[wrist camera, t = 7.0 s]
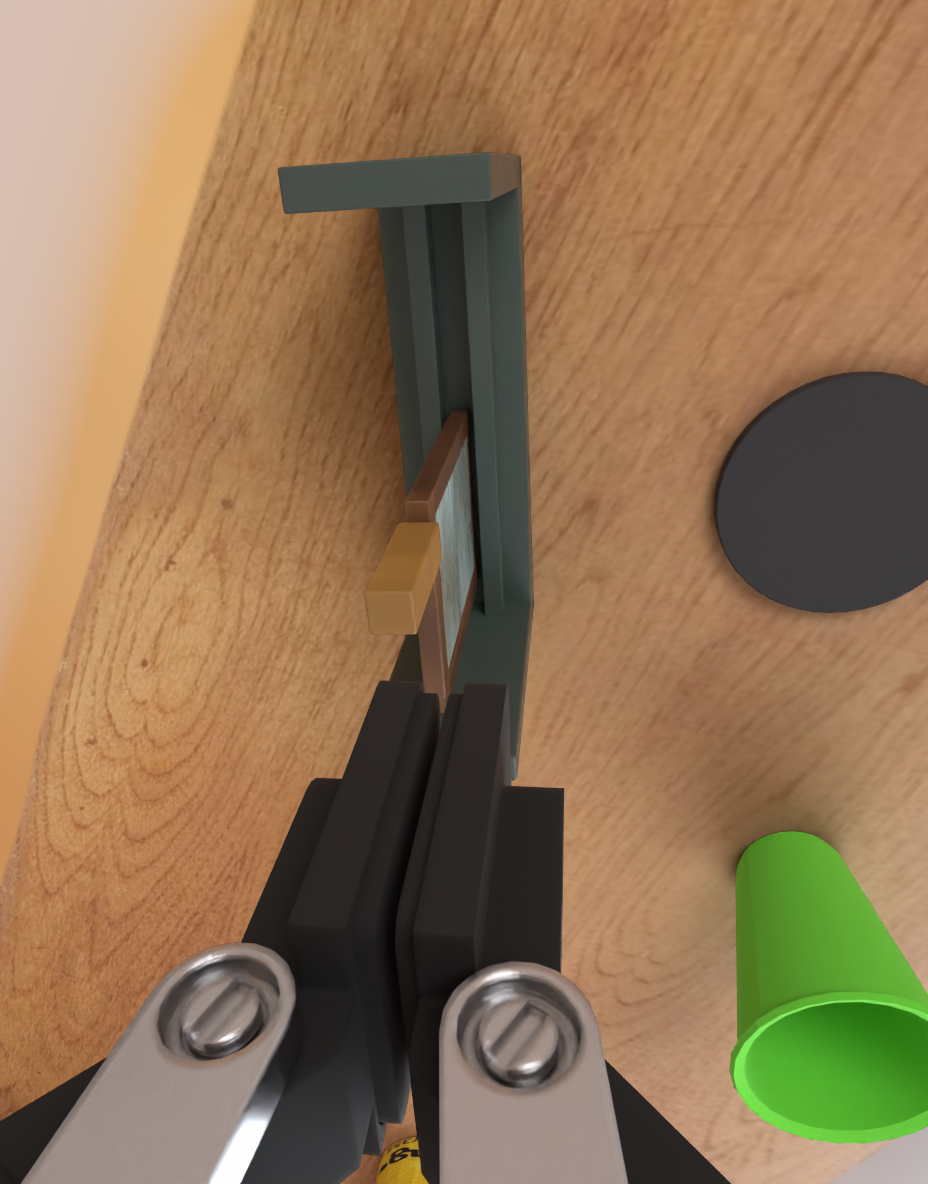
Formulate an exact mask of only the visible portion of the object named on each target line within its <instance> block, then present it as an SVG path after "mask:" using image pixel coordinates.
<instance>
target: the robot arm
mask: <svg viewBox="0 0 928 1184" xmlns="http://www.w3.org/2000/svg"><path fill="white" fill-rule="evenodd" d="M563 841H564V788H543V787H519V786H511V753H510V713H509V688H508V684H487V683H466V684H465V688H464V692H463V694H449V696H448V700H447V704H446V708H445V713H444V717H443V721H442V725H441V716H440V703H439V696H438V694H437V693H425V689H424V685H423V683H422V682H413V681H380V682H379V684H378V686H377V688H376V691H375V693H374V696H373V699H372V701H371V704H370V706H369V709H368V712H367V714H366V717H365V720H364V722H363V725H362V728H361V730H360V733H359V735H358V738H357V741H356V743H355V746H354V749H353V751H352V754H351V757H350V759H349V762H348V764H347V767H346V770H345V772H344V775H343V778H342V779H331V778H315V779H314V780H313V781H311V783H310V785H309V786H308V788H307V790H306V792H305V795H304V797H303V799H302V802H301V804H300V806H299V809H298V811H297V813H296V816H295V818H294V820H293V823H292V825H291V827H290V830H289V832H288V834H287V837H286V839H285V841H284V844H283V846H282V848H281V851H280V853H279V855H278V858H277V860H276V862H275V865H274V867H273V869H272V872H271V874H270V876H269V879H268V881H267V883H266V886H265V888H264V890H263V893H262V895H261V897H260V900H259V902H258V904H257V907H256V909H255V911H254V914H253V916H252V918H251V921H250V923H249V925H248V928H247V930H246V932H245V935H244V937H243V939H242V941H241V943H237V942H233V943H228V944H223V945H218V946H213V947H210V948H208V949H205V950H203V951H201V952H199V953H196V954H194V955H192V956H190V957H188V958H187V959H185V960H184V961H183V962H181V963H180V964H178V965H177V966H176V967H174V968H173V969H172V970H170V971H169V972H168V973H167V974H166V976H165V977H164V978H163V979H162V980H161V981H160V982H159V984H158V985H157V986H156V987H155V988H154V989H153V991H152V992H151V994H150V995H149V997H148V998H147V1000H146V1001H145V1002H144V1004H143V1005H142V1007H141V1008H140V1010H139V1011H138V1013H137V1014H136V1016H135V1017H134V1019H133V1020H132V1022H131V1023H130V1024H129V1026H128V1027H127V1029H126V1030H125V1032H124V1033H123V1035H122V1036H121V1038H120V1039H119V1041H118V1042H117V1044H116V1045H115V1046H114V1048H113V1049H112V1051H111V1052H110V1054H109V1055H108V1057H107V1058H105V1059H103V1060H102V1061H100V1062H98V1063H97V1064H95V1065H93V1066H92V1067H90V1068H88V1069H87V1070H85V1071H83V1072H82V1073H80V1074H78V1075H77V1076H75V1077H73V1078H72V1079H70V1080H68V1081H67V1082H65V1083H63V1084H62V1085H60V1086H58V1087H57V1088H55V1089H53V1090H52V1091H50V1092H48V1093H47V1094H45V1095H43V1096H42V1097H40V1098H38V1099H37V1100H35V1101H33V1102H32V1103H30V1104H28V1105H27V1106H25V1107H23V1108H22V1109H20V1110H18V1111H17V1112H15V1113H13V1114H12V1115H10V1116H8V1117H7V1118H5V1119H3V1120H2V1121H0V1184H339V1183H341V1182H342V1181H343V1180H344V1179H346V1178H347V1177H348V1176H349V1175H351V1174H352V1173H353V1172H354V1171H356V1170H357V1169H358V1168H359V1167H360V1163H361V1159H362V1154H368V1155H378V1156H380V1155H381V1150H382V1145H383V1140H384V1134H385V1129H386V1124H387V1123H395V1124H402V1122H403V1120H404V1117H405V1113H406V1108H407V1103H408V1097H409V1092H410V1086H411V1089H412V1097H413V1106H414V1114H415V1122H416V1131H417V1139H418V1148H419V1156H420V1165H421V1173H422V1175H423V1176H424V1178H425V1179H426V1181H427V1182H428V1183H429V1184H731V1183H730V1182H729V1181H728V1180H727V1179H726V1178H725V1177H724V1176H723V1175H722V1174H721V1173H720V1172H719V1171H718V1170H717V1169H716V1168H715V1167H714V1166H713V1165H712V1164H711V1163H710V1162H709V1161H708V1160H707V1159H705V1158H704V1157H703V1156H702V1155H701V1154H700V1153H699V1152H698V1151H697V1150H696V1149H695V1148H694V1147H693V1146H692V1145H691V1144H690V1143H689V1142H688V1141H687V1140H686V1139H685V1138H684V1137H683V1136H682V1135H681V1134H680V1133H679V1132H678V1131H677V1130H676V1129H675V1128H674V1127H673V1126H672V1125H671V1124H670V1123H669V1122H668V1121H667V1120H666V1119H665V1118H664V1117H663V1116H662V1115H661V1114H660V1113H659V1112H658V1111H657V1110H656V1109H655V1108H654V1107H653V1106H652V1105H651V1104H650V1103H649V1102H648V1101H647V1100H646V1099H645V1098H644V1097H643V1096H642V1095H641V1094H640V1093H639V1092H638V1091H637V1090H636V1089H635V1088H633V1087H632V1086H631V1085H630V1084H629V1083H628V1082H627V1081H626V1080H625V1079H624V1078H623V1077H622V1076H621V1075H620V1074H619V1073H618V1072H617V1071H616V1070H615V1069H614V1068H613V1067H612V1066H611V1065H610V1064H609V1063H608V1062H607V1061H606V1060H605V1059H604V1054H603V1049H602V1043H601V1038H600V1033H599V1028H598V1023H597V1020H596V1018H595V1015H594V1012H593V1009H592V1007H591V1004H590V1002H589V1000H588V999H587V998H586V997H585V995H584V994H583V993H582V991H581V990H580V989H579V988H578V986H577V985H576V984H575V983H573V982H572V981H571V980H569V979H568V978H566V977H565V976H564V975H562V974H561V960H562V907H563Z"/></svg>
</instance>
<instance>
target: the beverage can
mask: <svg viewBox="0 0 928 1184" xmlns="http://www.w3.org/2000/svg"><path fill="white" fill-rule="evenodd" d="M376 1184H429V1183H428V1182H427V1181H426V1179H425V1178H424V1176H423V1175H422V1173H421V1165H420V1156H419V1148H418V1139H417V1136H416V1137H411V1138H406V1139H403V1140H401V1141H398V1142H396V1143H394V1144H392V1145H391V1146H390V1147H389V1148H388V1149H387V1150H385V1151H384V1153H383V1155H382V1157H381V1160H380V1164H379V1169H378V1174H377V1179H376Z"/></svg>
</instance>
